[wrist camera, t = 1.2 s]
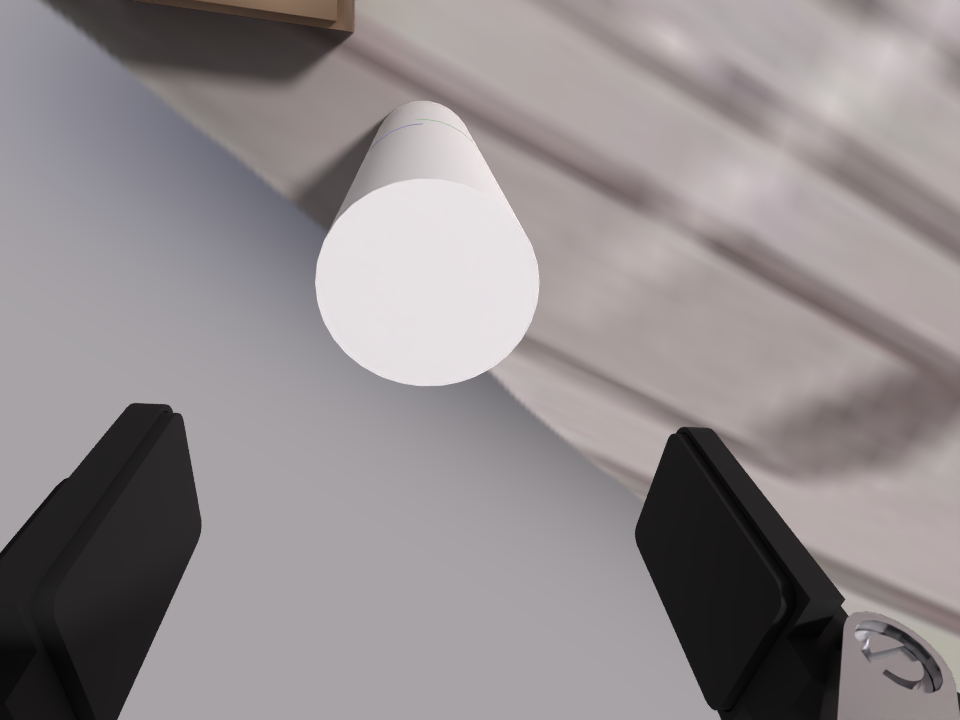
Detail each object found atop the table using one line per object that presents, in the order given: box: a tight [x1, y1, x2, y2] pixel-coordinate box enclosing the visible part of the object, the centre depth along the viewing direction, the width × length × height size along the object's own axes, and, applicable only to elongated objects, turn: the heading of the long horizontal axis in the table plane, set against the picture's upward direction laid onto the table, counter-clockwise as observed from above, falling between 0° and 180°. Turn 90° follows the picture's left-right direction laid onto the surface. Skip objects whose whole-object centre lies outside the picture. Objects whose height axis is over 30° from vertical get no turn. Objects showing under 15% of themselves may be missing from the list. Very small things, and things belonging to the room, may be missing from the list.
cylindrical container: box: [315, 101, 539, 386], centre depth 28 cm, size 7×7×25 cm
